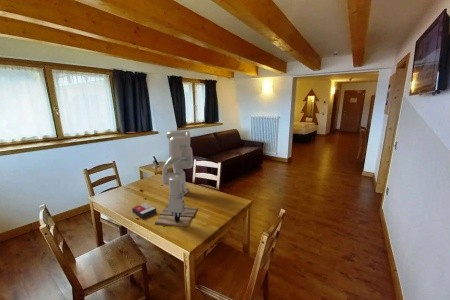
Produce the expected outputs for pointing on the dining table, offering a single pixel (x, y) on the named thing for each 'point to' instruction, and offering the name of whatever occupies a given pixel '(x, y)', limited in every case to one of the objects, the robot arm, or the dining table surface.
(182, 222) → the plank
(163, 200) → the dining table surface
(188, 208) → the laid row
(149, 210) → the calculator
